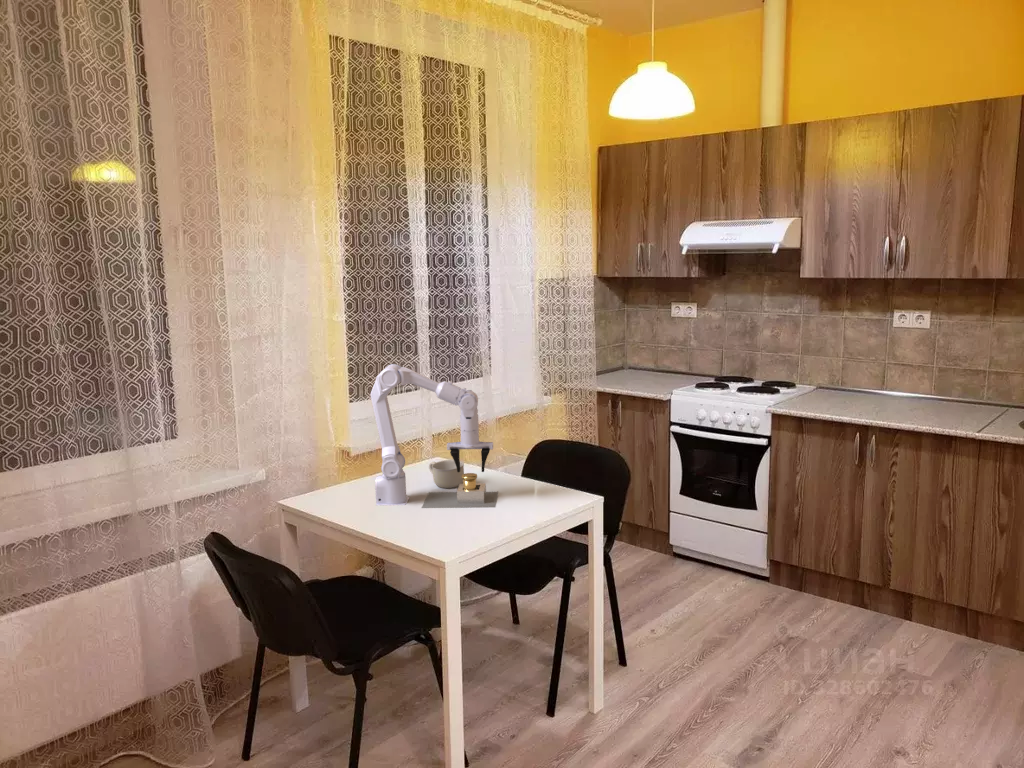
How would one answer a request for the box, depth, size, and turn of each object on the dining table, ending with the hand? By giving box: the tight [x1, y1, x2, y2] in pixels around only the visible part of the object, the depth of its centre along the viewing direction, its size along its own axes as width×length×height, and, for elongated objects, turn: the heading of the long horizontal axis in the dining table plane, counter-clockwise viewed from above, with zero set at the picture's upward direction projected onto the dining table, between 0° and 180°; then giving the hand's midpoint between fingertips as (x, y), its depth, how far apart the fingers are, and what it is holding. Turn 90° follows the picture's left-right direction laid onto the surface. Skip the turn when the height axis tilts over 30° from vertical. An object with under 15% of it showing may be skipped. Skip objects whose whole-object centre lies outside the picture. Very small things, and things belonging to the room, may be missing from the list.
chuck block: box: [456, 482, 487, 504], centre depth 244 cm, size 8×8×4 cm
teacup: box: [428, 459, 465, 489], centre depth 261 cm, size 14×11×8 cm
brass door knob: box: [462, 472, 478, 490], centre depth 243 cm, size 5×5×8 cm
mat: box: [421, 491, 499, 509], centre depth 244 cm, size 23×16×1 cm
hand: (470, 471), depth 242 cm, fingers open, 7 cm apart
